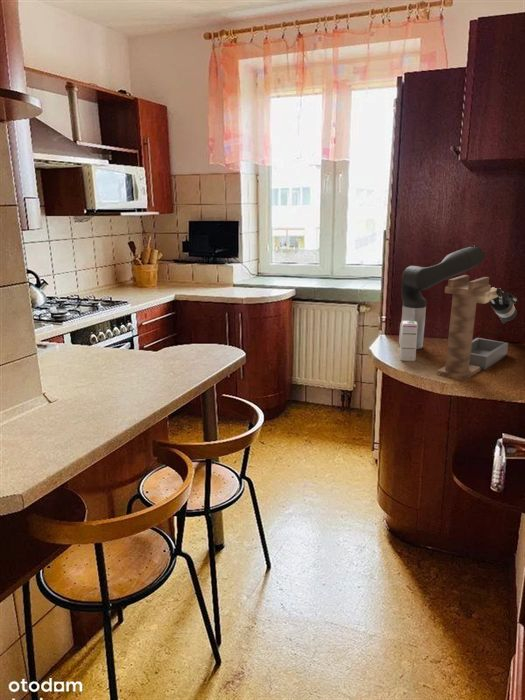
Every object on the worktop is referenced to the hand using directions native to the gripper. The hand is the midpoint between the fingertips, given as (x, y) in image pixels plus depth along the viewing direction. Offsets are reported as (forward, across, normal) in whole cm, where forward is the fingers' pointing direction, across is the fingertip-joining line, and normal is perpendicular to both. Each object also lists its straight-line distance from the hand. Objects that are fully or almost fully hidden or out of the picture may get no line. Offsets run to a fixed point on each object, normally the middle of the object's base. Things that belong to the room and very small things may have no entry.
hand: (492, 289), depth 191 cm
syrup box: (+6, -21, +34) cm, 41 cm away
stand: (+9, 0, +36) cm, 37 cm away
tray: (-9, 0, +25) cm, 27 cm away
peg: (+3, 0, +5) cm, 6 cm away
